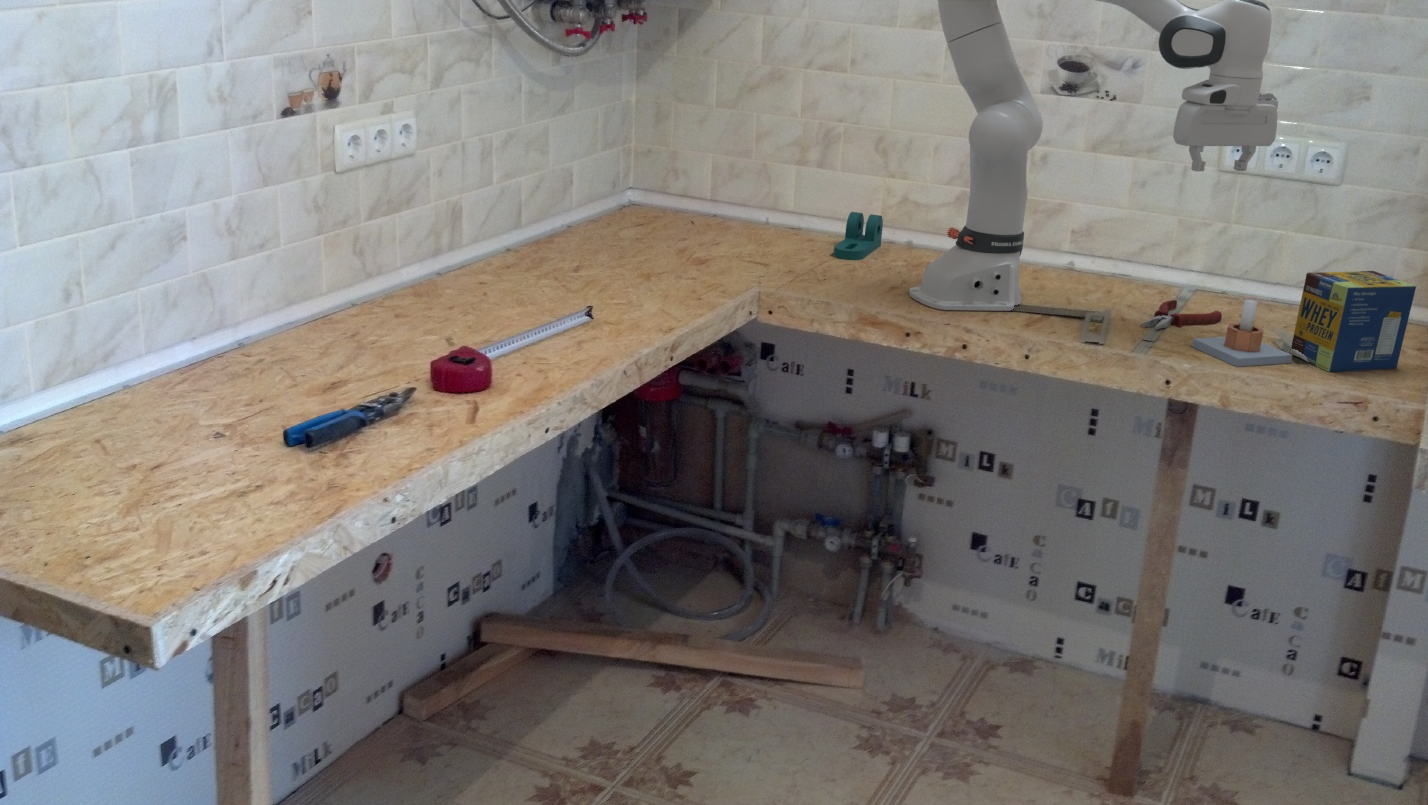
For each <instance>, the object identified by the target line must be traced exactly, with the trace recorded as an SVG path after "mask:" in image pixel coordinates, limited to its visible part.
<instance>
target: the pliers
mask: <svg viewBox="0 0 1428 805" xmlns="http://www.w3.org/2000/svg"><path fill="white" fill-rule="evenodd" d="M1177 306H1178V301H1177V300H1176V299H1171V300H1167V301H1164V302H1162V303H1161V304H1160V305H1159V308H1158V310H1156V311H1155V312H1154V315H1153V317H1152V318H1151V319H1148V320H1147V321H1144V322H1143V323H1141V324H1140V327H1150V328H1151V327H1154V330H1160V329H1166V328H1169V327H1170V326H1175V327H1178V328H1182V326H1199V325H1200V326H1204V325H1205V326H1206V325H1213V324H1217V323H1219V322H1221V320H1222V318H1223V315H1222V312H1221V311H1219V310H1214V311H1212V312H1207V313H1171V314H1170V315H1169V312H1170V310H1171V311H1174V310H1173V309H1175V308H1176V309H1177ZM1176 309H1175V310H1176Z"/></svg>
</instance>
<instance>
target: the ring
mask: <svg viewBox="0 0 1428 805" xmlns="http://www.w3.org/2000/svg"><path fill="white" fill-rule="evenodd" d="M1239 327H1240V322H1239V323H1238V322H1237V323H1228V325H1227V327H1226V334H1225V337H1226V338H1225V343H1224V346H1226V347H1229V348H1231V349H1233V350H1238V351H1244V352H1258V351H1260V347H1261V342H1262V343H1263V336H1264V331H1265V329H1264V328H1261V327H1260V326H1258V325H1257V326H1256V325H1254V324H1253V329H1252V332H1249V331H1242V330H1239Z"/></svg>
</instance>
